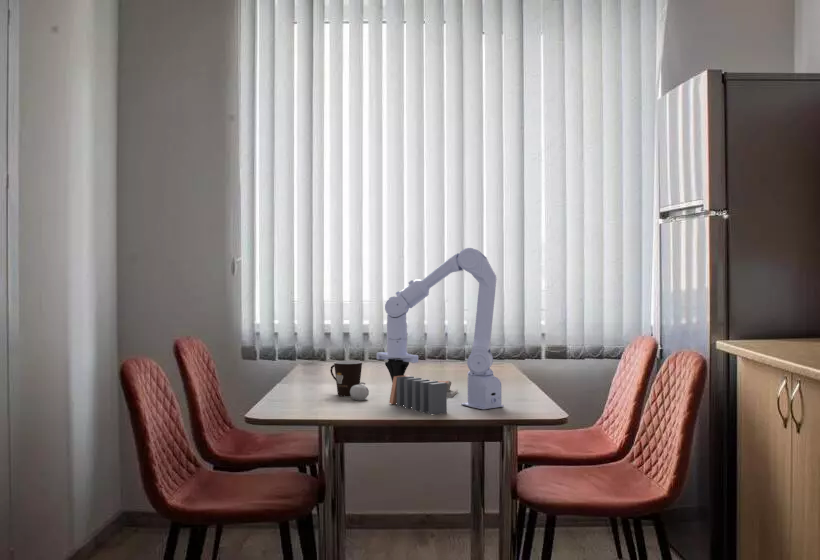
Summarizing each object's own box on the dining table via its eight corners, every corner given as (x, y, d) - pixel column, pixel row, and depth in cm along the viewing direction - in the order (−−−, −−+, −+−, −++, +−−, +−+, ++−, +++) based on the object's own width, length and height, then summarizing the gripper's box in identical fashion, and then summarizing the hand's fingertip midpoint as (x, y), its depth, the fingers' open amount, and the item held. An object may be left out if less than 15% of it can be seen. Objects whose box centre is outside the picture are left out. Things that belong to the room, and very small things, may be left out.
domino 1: (406, 402, 211) (410, 377, 209) (392, 404, 208) (396, 378, 206) (403, 400, 212) (407, 374, 210) (389, 402, 209) (393, 376, 207)
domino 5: (438, 410, 198) (437, 381, 198) (423, 412, 196) (423, 382, 196) (434, 409, 200) (434, 380, 200) (420, 411, 197) (420, 382, 197)
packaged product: (394, 380, 225) (402, 376, 235) (394, 396, 225) (402, 391, 235) (452, 382, 220) (458, 378, 230) (452, 398, 220) (458, 393, 230)
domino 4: (429, 408, 202) (429, 379, 202) (415, 410, 199) (415, 381, 199) (426, 407, 203) (426, 378, 203) (412, 409, 200) (411, 380, 200)
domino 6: (446, 412, 195) (446, 382, 195) (432, 414, 193) (432, 384, 193) (443, 412, 197) (442, 382, 197) (428, 413, 194) (428, 383, 194)
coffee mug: (366, 396, 223) (365, 363, 223) (338, 397, 220) (338, 364, 220) (354, 390, 234) (354, 359, 234) (328, 392, 231) (328, 360, 231)
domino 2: (413, 404, 208) (414, 376, 208) (399, 406, 205) (399, 378, 205) (410, 403, 209) (410, 375, 209) (396, 405, 206) (396, 377, 206)
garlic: (373, 399, 218) (373, 381, 218) (362, 402, 213) (362, 384, 213) (357, 397, 221) (356, 380, 221) (345, 400, 216) (345, 382, 216)
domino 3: (421, 406, 205) (421, 378, 205) (407, 408, 202) (407, 379, 202) (418, 405, 206) (418, 377, 206) (404, 407, 203) (404, 378, 203)
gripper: (425, 339, 209) (425, 386, 209) (388, 336, 218) (388, 382, 218) (408, 340, 203) (409, 389, 203) (371, 338, 213) (371, 384, 213)
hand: (397, 386), depth 210 cm, fingers closed
